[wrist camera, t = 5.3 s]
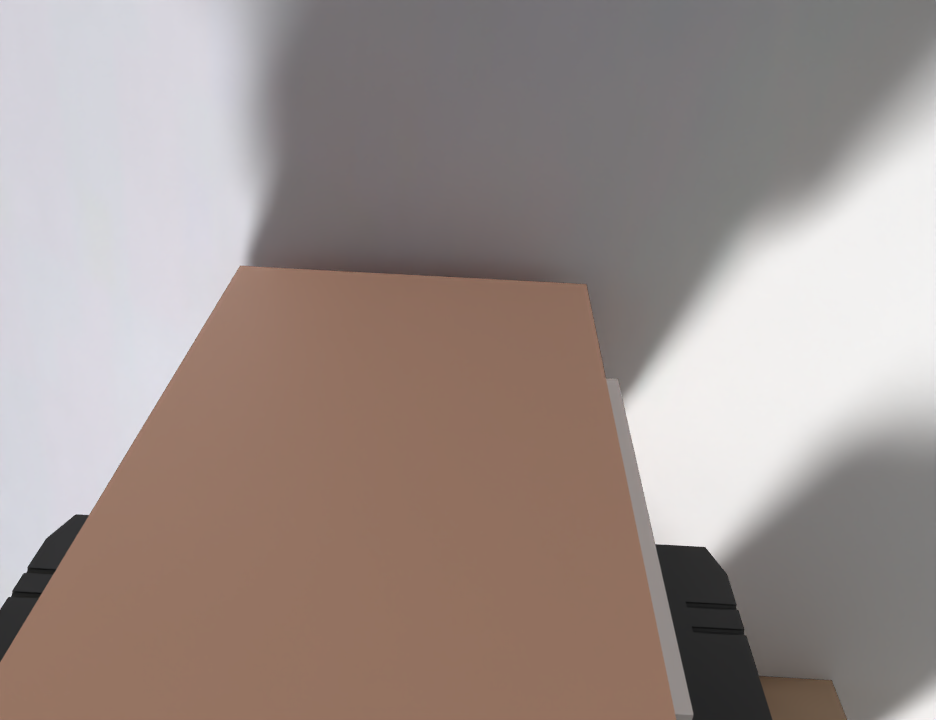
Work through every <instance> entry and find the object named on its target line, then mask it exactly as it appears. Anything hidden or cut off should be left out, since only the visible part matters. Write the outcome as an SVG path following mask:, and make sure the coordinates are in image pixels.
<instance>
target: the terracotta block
mask: <svg viewBox="0 0 936 720" xmlns="http://www.w3.org/2000/svg"><path fill="white" fill-rule="evenodd" d="M0 720H676V716H675V711H674V706H673V701H672V697H671V692H670V687H669V682H668V677H667V672H666V668H665V663H664V658H663V653H662V648H661V643H660V638H659V634H658V629H657V624H656V619H655V614H654V609H653V604H652V600H651V595H650V590H649V585H648V580H647V575H646V571H645V566H644V561H643V556H642V551H641V546H640V541H639V537H638V532H637V527H636V522H635V517H634V512H633V508H632V503H631V498H630V493H629V488H628V483H627V478H626V474H625V469H624V464H623V459H622V454H621V449H620V445H619V440H618V435H617V430H616V425H615V420H614V415H613V411H612V406H611V401H610V396H609V391H608V386H607V382H606V377H605V372H604V367H603V362H602V357H601V352H600V348H599V343H598V338H597V333H596V328H595V323H594V318H593V314H592V309H591V304H590V299H589V294H588V289H587V285H586V284H574V283H555V282H536V281H518V280H499V279H480V278H461V277H442V276H423V275H404V274H385V273H367V272H348V271H329V270H310V269H291V268H272V267H253V266H240V267H239V268H238V270H237V272H236V273H235V275H234V277H233V278H232V280H231V282H230V283H229V285H228V286H227V288H226V290H225V291H224V293H223V295H222V296H221V298H220V300H219V301H218V303H217V305H216V306H215V308H214V310H213V311H212V313H211V315H210V316H209V318H208V320H207V321H206V323H205V325H204V326H203V328H202V329H201V331H200V333H199V334H198V336H197V338H196V339H195V341H194V343H193V344H192V346H191V348H190V349H189V351H188V353H187V354H186V356H185V358H184V359H183V361H182V363H181V364H180V366H179V368H178V369H177V371H176V372H175V374H174V376H173V377H172V379H171V381H170V382H169V384H168V386H167V387H166V389H165V391H164V392H163V394H162V396H161V397H160V399H159V401H158V402H157V404H156V406H155V407H154V409H153V410H152V412H151V414H150V415H149V417H148V419H147V420H146V422H145V424H144V425H143V427H142V429H141V430H140V432H139V434H138V435H137V437H136V439H135V440H134V442H133V444H132V445H131V447H130V449H129V450H128V452H127V453H126V455H125V457H124V458H123V460H122V462H121V463H120V465H119V467H118V468H117V470H116V472H115V473H114V475H113V477H112V478H111V480H110V482H109V483H108V485H107V487H106V488H105V490H104V492H103V493H102V495H101V496H100V498H99V500H98V501H97V503H96V505H95V506H94V508H93V510H92V511H91V513H90V515H89V516H88V518H87V520H86V521H85V523H84V525H83V526H82V528H81V530H80V531H79V533H78V534H77V536H76V538H75V539H74V541H73V543H72V544H71V546H70V548H69V549H68V551H67V553H66V554H65V556H64V558H63V559H62V561H61V563H60V564H59V566H58V568H57V569H56V571H55V573H54V574H53V576H52V577H51V579H50V581H49V582H48V584H47V586H46V587H45V589H44V591H43V592H42V594H41V596H40V597H39V599H38V601H37V602H36V604H35V606H34V607H33V609H32V611H31V612H30V614H29V616H28V617H27V619H26V620H25V622H24V624H23V625H22V627H21V629H20V630H19V632H18V634H17V635H16V637H15V639H14V640H13V642H12V644H11V645H10V647H9V649H8V650H7V652H6V654H5V655H4V657H3V659H2V660H1V662H0Z"/></svg>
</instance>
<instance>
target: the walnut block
mask: <svg viewBox="0 0 936 720" xmlns="http://www.w3.org/2000/svg"><path fill="white" fill-rule="evenodd" d="M759 678H760V681H761V685H762V688H763V691H764V694H765V697H766V701H767V704H768V707H769V710H770V713H771V716H772V720H847V718H846V716H845V713H844V711H843V708H842V705H841V703H840V700H839V698H838V695H837V693H836V690H835V688H834V685H833V682H832V680H816V679H799V678H783V677H766V676H759Z"/></svg>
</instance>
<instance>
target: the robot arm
mask: <svg viewBox="0 0 936 720" xmlns="http://www.w3.org/2000/svg"><path fill="white" fill-rule="evenodd" d="M606 382H607V386H608V391H609V396H610V401H611V406H612V411H613V415H614V420H615V425H616V430H617V435H618V440H619V445H620V449H621V454H622V459H623V464H624V469H625V474H626V478H627V483H628V488H629V493H630V498H631V503H632V508H633V512H634V517H635V522H636V527H637V532H638V537H639V541H640V546H641V551H642V556H643V561H644V566H645V571H646V575H647V580H648V585H649V590H650V595H651V600H652V604H653V609H654V614H655V619H656V624H657V629H658V634H659V638H660V643H661V648H662V653H663V658H664V663H665V668H666V672H667V677H668V682H669V687H670V692H671V697H672V701H673V706H674V711H675V716H676V720H772V716H771V713H770V710H769V707H768V704H767V701H766V697H765V694H764V691H763V688H762V685H761V681H760V678H759V675H758V672H757V669H756V666H755V662H754V659H753V656H752V653H751V650H750V646H749V643H748V640H747V637H746V636H745V635H744V627H743V624H742V621H741V618H740V615H739V611H738V610H736V602H735V599H734V595H733V592H732V589H731V586H730V583H729V580H728V576H727V574H726V573H725V571H724V570H723V569H722V568H721V566H720V565H719V564H718V563H717V561H716V560H715V559H714V558H713V556H712V555H711V554H710V553H709V551H708V550H707V549H706V548H705V547H693V546H675V545H657V544H655V541H654V537H653V532H652V528H651V524H650V519H649V515H648V510H647V506H646V501H645V497H644V492H643V488H642V484H641V479H640V475H639V470H638V466H637V461H636V457H635V452H634V448H633V444H632V439H631V435H630V430H629V426H628V421H627V417H626V412H625V408H624V404H623V399H622V395H621V390H620V386H619V381H618V379H612V378H606ZM88 516H89V515H75V516H73V517H72V518H71V519H70V520H68V521H67V522H66V523H65V524H64V525H62V526H61V527H60V528H59V529H57V530H56V531H55V532H54V533H53V534H51V535H50V536H49V537H48V538H46V540H45V541H44V543H43V544H42V546H41V547H40V549H39V551H38V552H37V554H36V555H35V557H34V558H33V560H32V561H31V563H30V564H29V566H28V571H27V573H24V574H23V575H22V577H21V578H20V580H19V581H18V583H17V585H16V586H15V588H14V589H13V591H12V592H13V593H12V596H11V597H8V598H7V600H6V602H5V603H4V605H3V606H2V608H1V609H0V662H1V660H2V659H3V657H4V655H5V654H6V652H7V650H8V649H9V647H10V645H11V644H12V642H13V640H14V639H15V637H16V635H17V634H18V632H19V630H20V629H21V627H22V625H23V624H24V622H25V620H26V619H27V617H28V616H29V614H30V612H31V611H32V609H33V607H34V606H35V604H36V602H37V601H38V599H39V597H40V596H41V594H42V592H43V591H44V589H45V587H46V586H47V584H48V582H49V581H50V579H51V577H52V576H53V574H54V573H55V571H56V569H57V568H58V566H59V564H60V563H61V561H62V559H63V558H64V556H65V554H66V553H67V551H68V549H69V548H70V546H71V544H72V543H73V541H74V539H75V538H76V536H77V534H78V533H79V531H80V530H81V528H82V526H83V525H84V523H85V521H86V520H87V518H88Z"/></svg>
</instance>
